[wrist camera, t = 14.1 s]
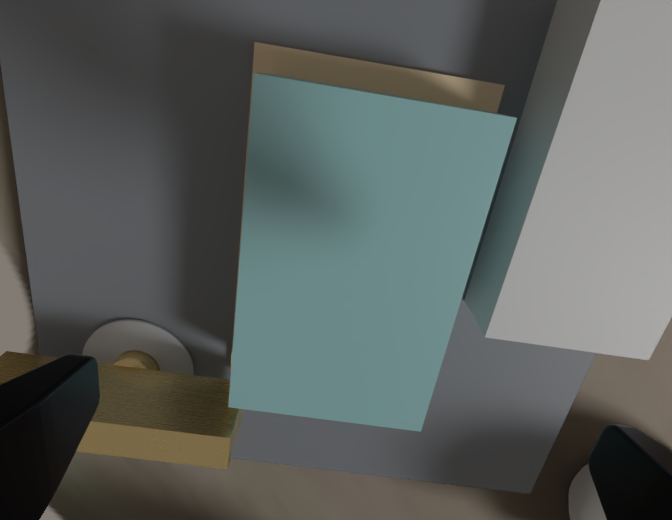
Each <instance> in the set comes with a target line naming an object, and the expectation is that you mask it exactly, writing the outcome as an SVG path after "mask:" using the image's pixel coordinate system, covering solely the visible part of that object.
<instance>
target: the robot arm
mask: <svg viewBox="0 0 672 520" xmlns="http://www.w3.org/2000/svg"><path fill="white" fill-rule="evenodd" d="M99 399H100V388H99V374H98V364H97V361H96V359H95V358H94V357H92V356H87V355H79V354H67V355H65V356H62V357H60V358H58V359H56V360H54V361H51V362H49V363H47V364H45V365H43V366H40V367H38V368H36V369H34V370H31V371H29V372H27V373H25V374H23V375H20V376H18V377H16V378H14V379H11V380H9V381H7V382H5V383H3V384H0V520H39V519H40V518H41V516H42V514H43V513H44V511H45V509H46V508H47V506H48V504H49V503H50V501H51V499H52V498H53V496H54V494H55V492H56V490H57V488H58V486H59V484H60V482H61V480H62V478H63V476H64V474H65V472H66V470H67V468H68V466H69V464H70V462H71V460H72V458H73V456H74V454H75V452H76V450H77V448H78V446H79V444H80V442H81V440H82V438H83V436H84V434H85V432H86V430H87V428H88V426H89V424H90V422H91V420H92V418H93V416H94V414H95V412H96V409H97V407H98V404H99ZM588 466H589V471H590V474H591V477H592V480H593V482H594V485H595V488H596V491H597V494H598V497H599V499H600V502H601V505H602V508H603V511H604V513H605V516H606V519H607V520H672V452H671V451H670V450H668V449H667V448H665V447H664V446H662V445H661V444H659V443H658V442H656V441H655V440H653V439H652V438H650V437H648V436H647V435H645V434H644V433H642V432H641V431H639V430H638V429H636V428H634V427H631V426H626V425H618V424H609V425H607V426H606V427H604V429H603V431H602V432H601V434H600V436H599V438H598V440H597V442H596V444H595V446H594V448H593V450H592V451H591V453H590V456H589V460H588Z"/></svg>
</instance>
